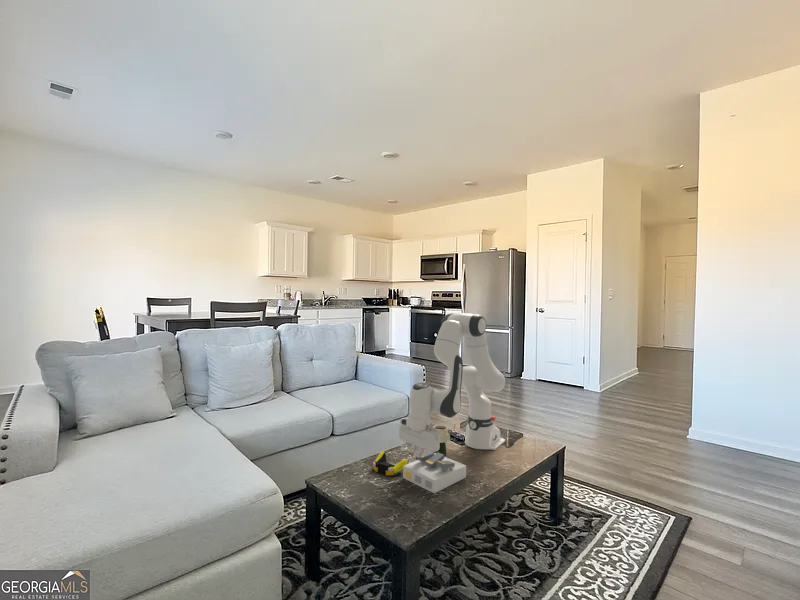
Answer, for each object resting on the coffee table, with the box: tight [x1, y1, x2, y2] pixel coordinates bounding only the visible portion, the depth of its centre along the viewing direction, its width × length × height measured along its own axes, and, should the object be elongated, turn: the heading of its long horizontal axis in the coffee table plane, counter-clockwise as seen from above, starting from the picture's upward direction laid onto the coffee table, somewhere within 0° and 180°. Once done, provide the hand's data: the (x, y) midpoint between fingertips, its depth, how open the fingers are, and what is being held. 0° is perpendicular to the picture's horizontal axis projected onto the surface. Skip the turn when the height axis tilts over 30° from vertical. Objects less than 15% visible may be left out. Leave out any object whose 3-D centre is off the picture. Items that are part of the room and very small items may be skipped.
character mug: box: [432, 424, 451, 456], centre depth 188 cm, size 11×7×13 cm, turn 47°
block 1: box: [415, 450, 434, 462], centre depth 168 cm, size 8×3×2 cm, turn 134°
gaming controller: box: [372, 451, 409, 477], centre depth 170 cm, size 15×6×10 cm
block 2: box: [436, 461, 455, 468], centre depth 160 cm, size 8×3×2 cm, turn 134°
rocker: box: [425, 453, 445, 468], centre depth 164 cm, size 8×3×2 cm, turn 134°
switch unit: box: [402, 453, 467, 494], centre depth 164 cm, size 20×17×6 cm
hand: (418, 456), depth 165 cm, fingers closed
